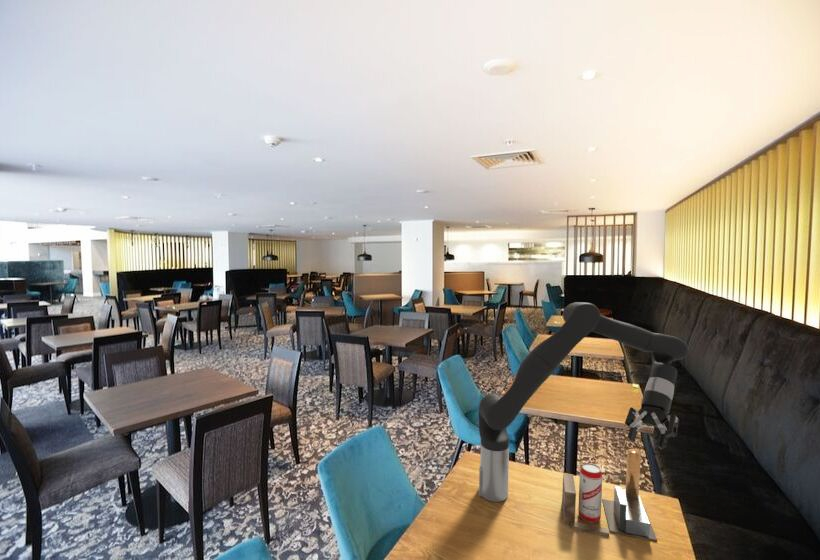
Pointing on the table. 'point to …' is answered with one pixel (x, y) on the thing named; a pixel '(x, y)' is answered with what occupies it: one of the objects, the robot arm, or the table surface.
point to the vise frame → (569, 518)
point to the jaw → (631, 500)
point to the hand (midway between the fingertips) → (645, 444)
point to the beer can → (590, 493)
